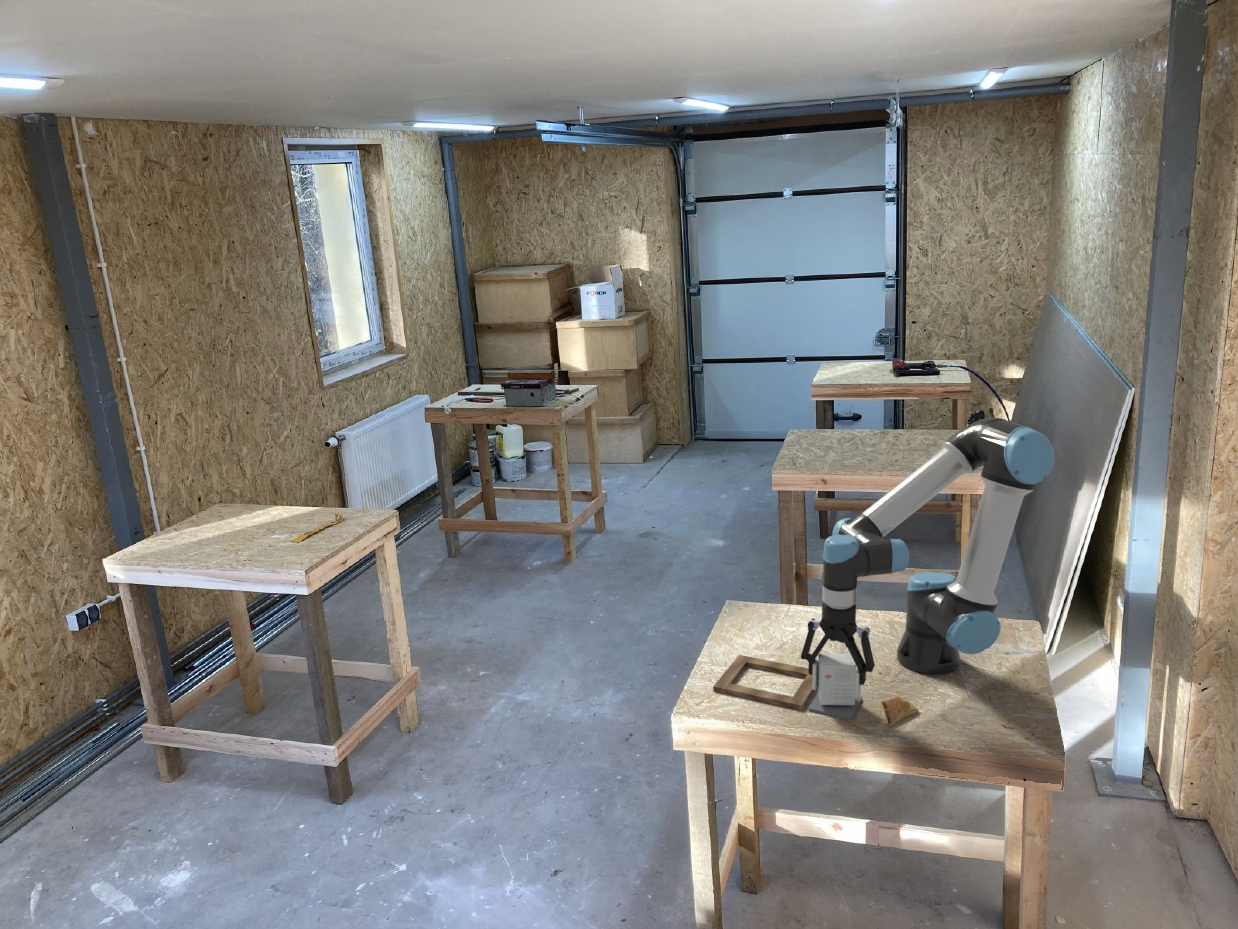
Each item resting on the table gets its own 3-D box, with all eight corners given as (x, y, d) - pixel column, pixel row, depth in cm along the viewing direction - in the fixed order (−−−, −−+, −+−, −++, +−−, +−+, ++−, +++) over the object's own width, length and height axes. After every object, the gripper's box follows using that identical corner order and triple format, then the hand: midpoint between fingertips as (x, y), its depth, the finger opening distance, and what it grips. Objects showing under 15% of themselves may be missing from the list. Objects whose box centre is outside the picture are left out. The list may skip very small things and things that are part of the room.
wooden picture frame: (822, 675, 235) (822, 671, 234) (801, 710, 219) (801, 705, 219) (739, 659, 244) (739, 654, 244) (713, 690, 229) (713, 686, 229)
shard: (888, 730, 211) (889, 723, 210) (861, 715, 217) (862, 708, 216) (919, 714, 217) (920, 707, 216) (892, 700, 223) (893, 694, 222)
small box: (851, 693, 223) (853, 653, 220) (855, 706, 217) (856, 664, 215) (817, 693, 224) (818, 652, 221) (819, 705, 218) (820, 664, 215)
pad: (862, 699, 223) (862, 697, 223) (851, 720, 214) (851, 717, 214) (820, 690, 227) (820, 688, 227) (808, 710, 219) (808, 708, 219)
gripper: (891, 604, 212) (887, 693, 218) (797, 589, 222) (795, 675, 228) (884, 617, 206) (880, 709, 212) (787, 601, 216) (785, 689, 222)
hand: (836, 691), depth 220 cm, fingers closed on small box, 9 cm apart
